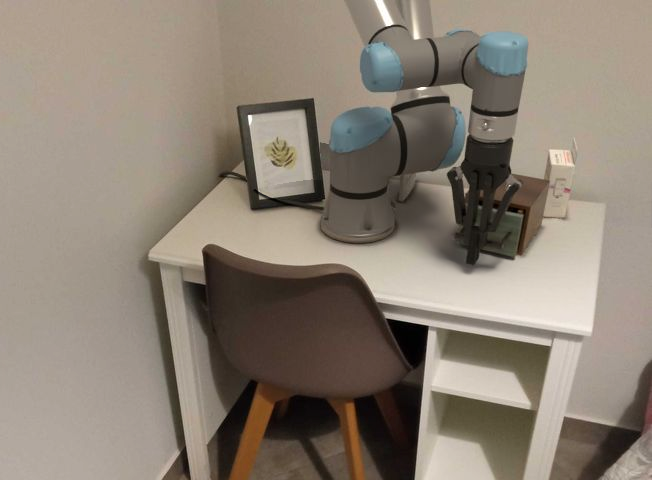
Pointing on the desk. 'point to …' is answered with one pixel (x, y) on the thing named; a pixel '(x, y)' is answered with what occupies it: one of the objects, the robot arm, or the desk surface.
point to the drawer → (500, 232)
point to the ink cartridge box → (559, 180)
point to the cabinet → (525, 205)
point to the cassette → (406, 185)
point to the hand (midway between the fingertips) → (472, 261)
